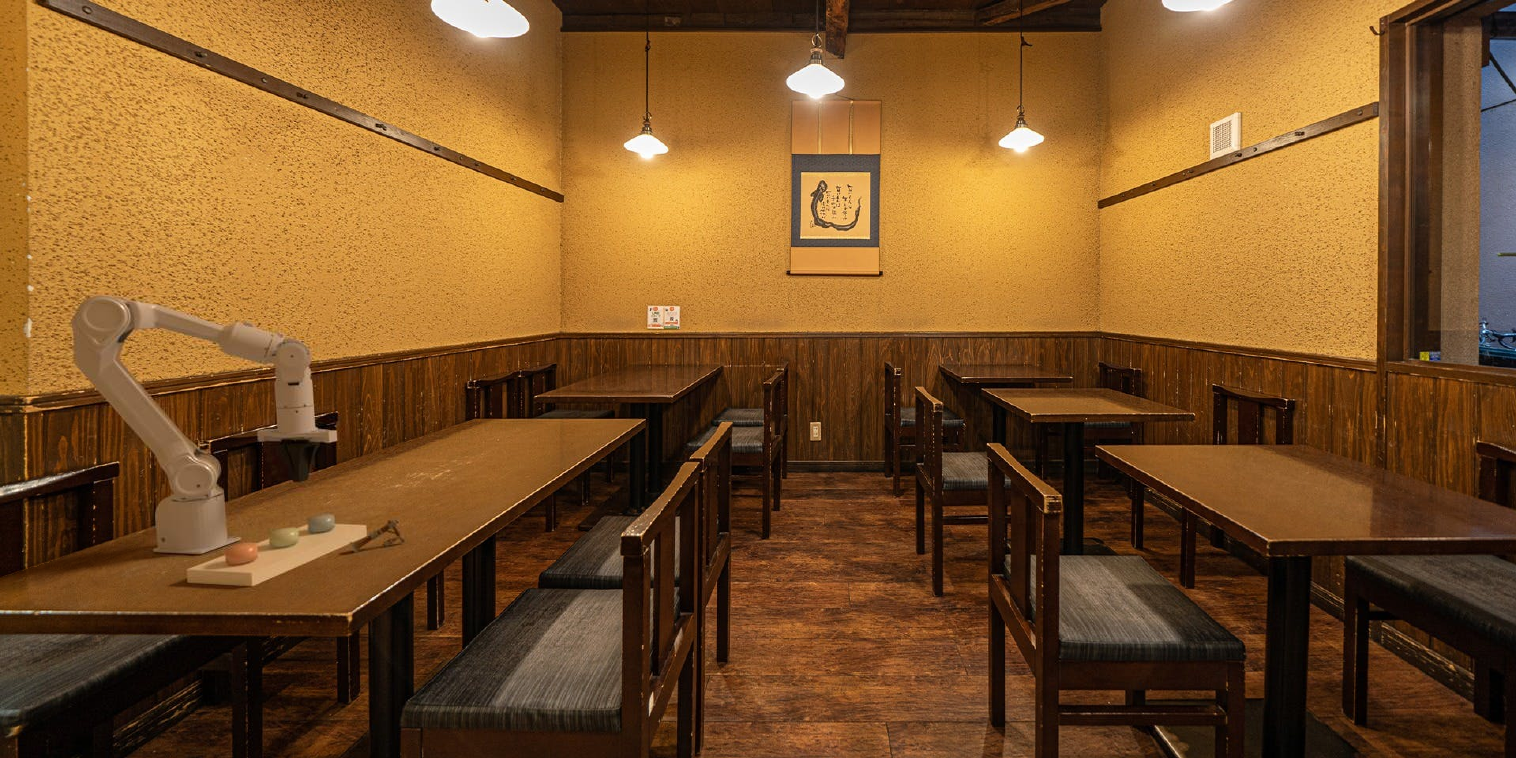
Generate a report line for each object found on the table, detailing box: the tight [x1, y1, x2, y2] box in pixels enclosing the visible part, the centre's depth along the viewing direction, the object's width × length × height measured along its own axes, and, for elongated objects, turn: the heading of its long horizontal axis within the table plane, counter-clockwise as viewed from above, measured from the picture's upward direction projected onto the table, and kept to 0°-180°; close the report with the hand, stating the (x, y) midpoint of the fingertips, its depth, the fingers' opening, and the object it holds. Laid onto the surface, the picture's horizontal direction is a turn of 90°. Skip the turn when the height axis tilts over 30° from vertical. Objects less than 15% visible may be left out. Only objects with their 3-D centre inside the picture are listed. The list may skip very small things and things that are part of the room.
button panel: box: [186, 523, 368, 587], centre depth 118 cm, size 11×24×2 cm, turn 170°
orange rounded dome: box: [224, 542, 258, 564], centre depth 110 cm, size 4×4×2 cm
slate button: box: [306, 513, 336, 532], centre depth 126 cm, size 4×4×2 cm
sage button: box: [268, 527, 299, 547], centre depth 118 cm, size 4×4×2 cm
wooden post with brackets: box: [349, 518, 406, 554], centre depth 123 cm, size 2×8×4 cm, turn 124°
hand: (300, 480), depth 132 cm, fingers closed
